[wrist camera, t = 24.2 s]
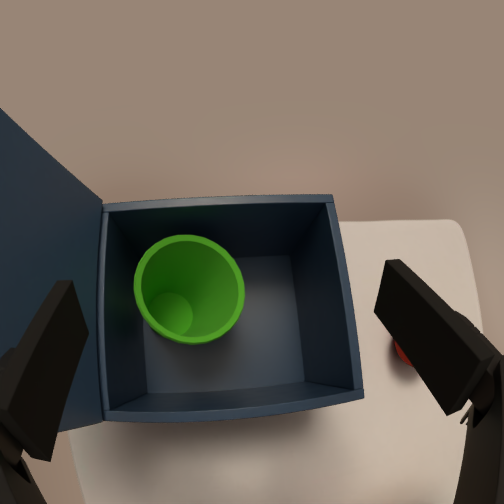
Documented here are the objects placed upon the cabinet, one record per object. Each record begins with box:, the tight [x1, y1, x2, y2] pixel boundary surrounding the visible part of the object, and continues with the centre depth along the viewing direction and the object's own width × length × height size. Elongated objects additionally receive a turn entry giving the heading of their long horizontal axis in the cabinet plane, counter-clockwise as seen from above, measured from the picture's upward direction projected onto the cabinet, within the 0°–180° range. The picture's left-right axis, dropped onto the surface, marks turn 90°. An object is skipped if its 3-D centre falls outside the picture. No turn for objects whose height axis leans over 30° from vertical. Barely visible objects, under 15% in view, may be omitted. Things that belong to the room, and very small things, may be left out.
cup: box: [134, 235, 245, 345], centre depth 29 cm, size 9×9×11 cm
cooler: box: [96, 194, 364, 423], centre depth 29 cm, size 19×17×14 cm
